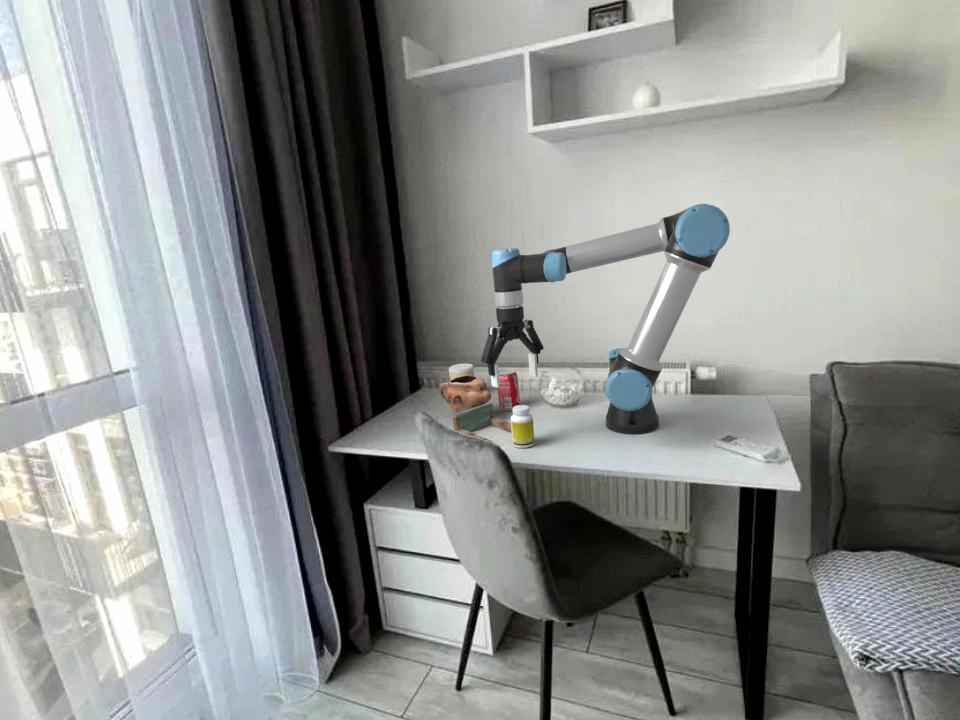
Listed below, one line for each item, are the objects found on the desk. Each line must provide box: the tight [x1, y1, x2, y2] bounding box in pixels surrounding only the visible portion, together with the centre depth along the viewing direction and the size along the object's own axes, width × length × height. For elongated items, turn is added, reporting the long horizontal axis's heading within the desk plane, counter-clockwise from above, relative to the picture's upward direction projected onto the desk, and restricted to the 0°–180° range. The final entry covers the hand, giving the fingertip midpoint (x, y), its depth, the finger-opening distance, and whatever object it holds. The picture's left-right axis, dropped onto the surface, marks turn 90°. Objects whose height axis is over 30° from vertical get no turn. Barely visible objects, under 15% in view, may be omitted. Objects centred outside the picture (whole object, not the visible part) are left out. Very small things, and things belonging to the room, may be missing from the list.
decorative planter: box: [438, 375, 492, 415], centre depth 180 cm, size 20×12×14 cm, turn 63°
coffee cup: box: [448, 363, 475, 381], centre depth 204 cm, size 9×9×12 cm
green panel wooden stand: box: [452, 401, 512, 443], centre depth 164 cm, size 17×14×7 cm
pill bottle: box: [510, 404, 535, 449], centre depth 155 cm, size 6×6×11 cm
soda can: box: [497, 368, 521, 412], centre depth 187 cm, size 7×7×13 cm
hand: (515, 381), depth 156 cm, fingers open, 13 cm apart
